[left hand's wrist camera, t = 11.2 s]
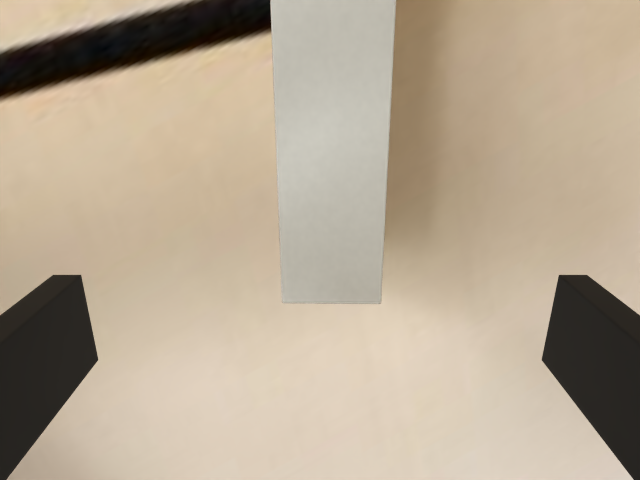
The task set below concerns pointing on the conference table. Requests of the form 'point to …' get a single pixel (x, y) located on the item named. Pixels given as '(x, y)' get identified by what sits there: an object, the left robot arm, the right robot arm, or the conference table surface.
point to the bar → (332, 145)
